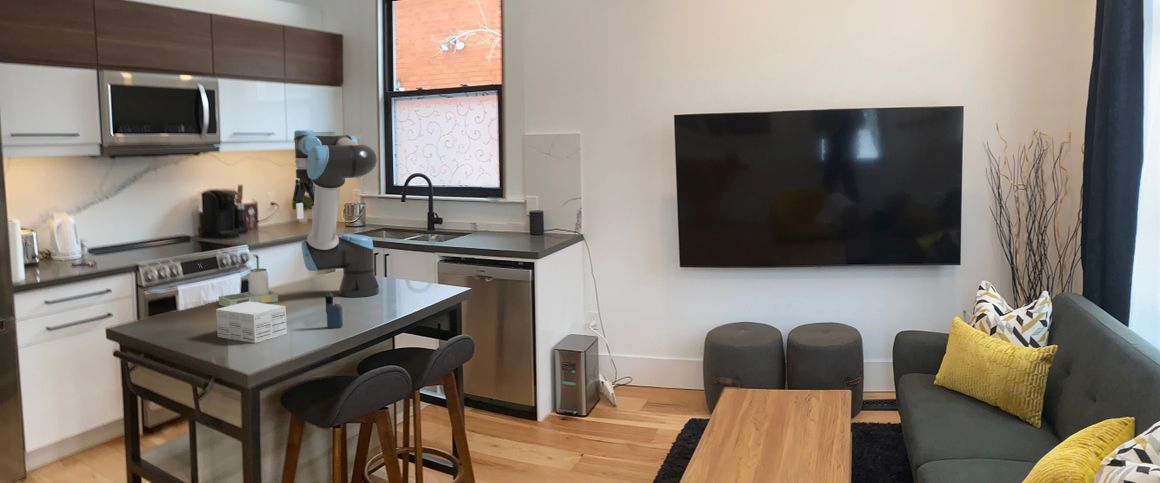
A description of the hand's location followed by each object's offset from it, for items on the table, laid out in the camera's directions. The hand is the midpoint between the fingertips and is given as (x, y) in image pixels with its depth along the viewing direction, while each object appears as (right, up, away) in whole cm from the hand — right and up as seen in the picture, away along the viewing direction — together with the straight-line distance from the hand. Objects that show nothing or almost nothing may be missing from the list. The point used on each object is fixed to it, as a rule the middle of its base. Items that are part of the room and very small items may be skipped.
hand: (308, 220), depth 333 cm
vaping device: (+31, -37, -65) cm, 81 cm away
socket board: (-12, -32, -30) cm, 45 cm away
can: (-9, -31, -27) cm, 42 cm away
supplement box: (+8, -39, -75) cm, 85 cm away
